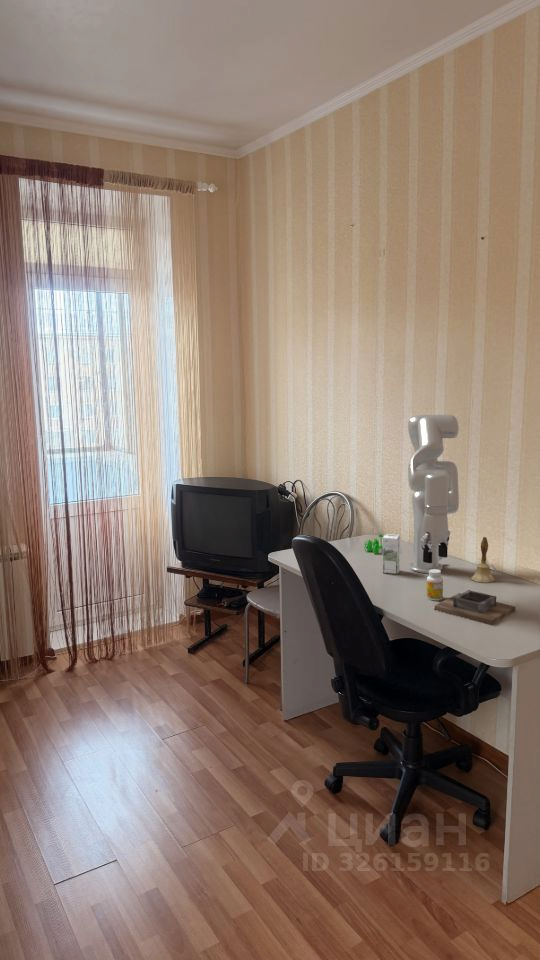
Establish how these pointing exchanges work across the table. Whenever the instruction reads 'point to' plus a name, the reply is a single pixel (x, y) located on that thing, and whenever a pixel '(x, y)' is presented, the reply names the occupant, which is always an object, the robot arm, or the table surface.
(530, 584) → the table surface
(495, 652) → the table surface
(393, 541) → the syrup box
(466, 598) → the socket plate
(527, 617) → the table surface
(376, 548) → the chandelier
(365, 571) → the table surface
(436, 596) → the supplement bottle
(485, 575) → the hand bell
